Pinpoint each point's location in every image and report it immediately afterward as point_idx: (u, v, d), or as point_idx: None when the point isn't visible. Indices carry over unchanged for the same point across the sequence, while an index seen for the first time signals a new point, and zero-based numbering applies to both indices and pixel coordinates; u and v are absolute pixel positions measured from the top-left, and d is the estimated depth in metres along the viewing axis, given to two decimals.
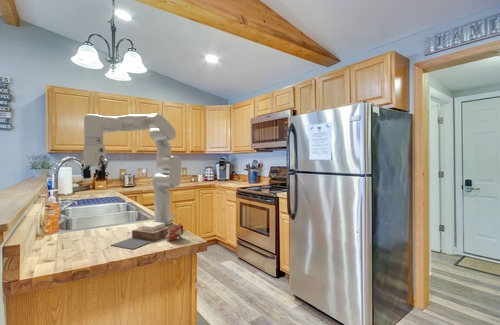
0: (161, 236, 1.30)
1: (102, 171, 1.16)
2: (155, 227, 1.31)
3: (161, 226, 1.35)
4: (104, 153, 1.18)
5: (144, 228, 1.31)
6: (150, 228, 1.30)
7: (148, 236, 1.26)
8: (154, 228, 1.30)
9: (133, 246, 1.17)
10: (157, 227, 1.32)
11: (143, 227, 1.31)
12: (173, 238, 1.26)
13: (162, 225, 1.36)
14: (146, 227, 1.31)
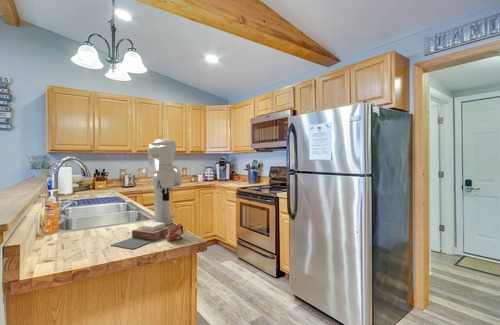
0: (161, 236, 1.30)
1: None
2: (155, 227, 1.31)
3: (161, 226, 1.35)
4: None
5: (144, 228, 1.31)
6: (150, 228, 1.30)
7: (148, 236, 1.26)
8: (154, 228, 1.30)
9: (133, 246, 1.17)
10: (157, 227, 1.32)
11: (143, 227, 1.31)
12: (173, 238, 1.26)
13: (162, 225, 1.36)
14: (146, 227, 1.31)
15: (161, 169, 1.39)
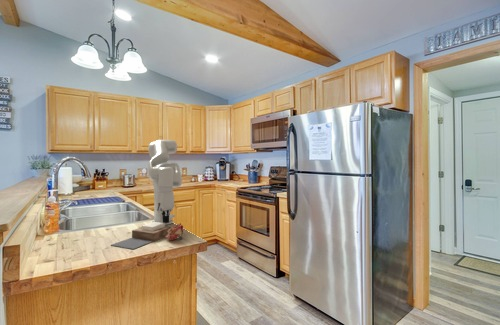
0: (161, 236, 1.30)
1: None
2: (155, 227, 1.31)
3: (161, 226, 1.35)
4: None
5: (144, 228, 1.31)
6: (150, 228, 1.30)
7: (148, 236, 1.26)
8: (154, 228, 1.30)
9: (133, 246, 1.17)
10: (157, 227, 1.32)
11: (143, 227, 1.31)
12: (173, 238, 1.26)
13: (162, 225, 1.36)
14: (146, 227, 1.31)
15: (161, 191, 1.40)
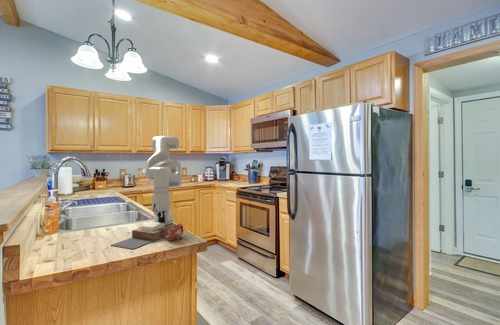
0: (161, 236, 1.30)
1: None
2: (155, 227, 1.31)
3: (161, 226, 1.35)
4: None
5: (144, 228, 1.31)
6: (150, 228, 1.29)
7: (148, 236, 1.26)
8: (154, 228, 1.30)
9: (133, 246, 1.17)
10: (157, 227, 1.32)
11: (143, 227, 1.31)
12: (173, 238, 1.26)
13: (162, 225, 1.36)
14: (146, 227, 1.30)
15: (157, 192, 1.36)
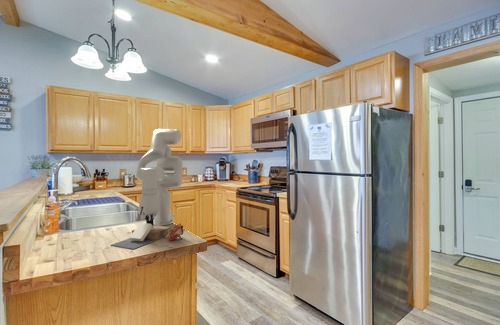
0: (161, 236, 1.30)
1: None
2: (143, 235, 1.23)
3: (149, 229, 1.27)
4: None
5: (133, 239, 1.24)
6: (139, 239, 1.22)
7: (148, 236, 1.26)
8: (143, 237, 1.23)
9: (133, 246, 1.17)
10: (145, 233, 1.25)
11: (131, 238, 1.24)
12: (173, 238, 1.26)
13: (150, 227, 1.27)
14: (134, 238, 1.23)
15: (144, 194, 1.28)
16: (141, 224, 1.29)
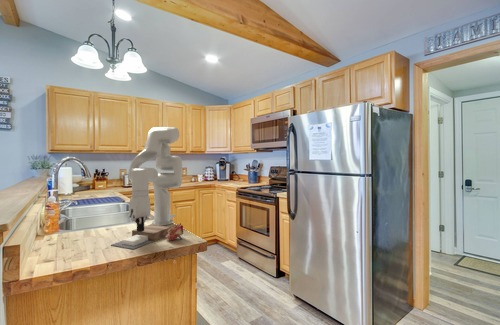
0: (161, 236, 1.30)
1: None
2: (137, 241, 1.20)
3: (144, 240, 1.24)
4: None
5: (125, 242, 1.20)
6: (131, 242, 1.18)
7: (148, 236, 1.26)
8: (136, 242, 1.19)
9: (133, 246, 1.17)
10: (139, 241, 1.21)
11: (124, 241, 1.20)
12: (173, 238, 1.26)
13: (145, 238, 1.25)
14: (127, 241, 1.19)
15: (134, 196, 1.23)
16: (137, 235, 1.27)
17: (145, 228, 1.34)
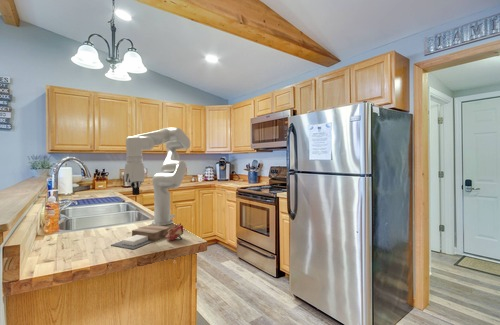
0: (161, 236, 1.30)
1: None
2: (137, 241, 1.20)
3: (144, 240, 1.24)
4: None
5: (125, 242, 1.20)
6: (131, 242, 1.18)
7: (148, 236, 1.26)
8: (136, 242, 1.19)
9: (133, 246, 1.17)
10: (139, 241, 1.21)
11: (124, 241, 1.20)
12: (173, 238, 1.26)
13: (145, 238, 1.25)
14: (127, 241, 1.19)
15: (129, 162, 1.31)
16: (137, 235, 1.27)
17: (145, 228, 1.34)
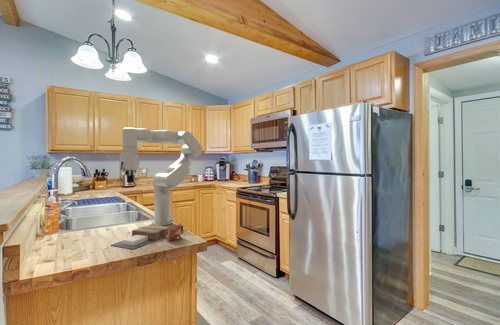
0: (161, 236, 1.30)
1: None
2: (137, 241, 1.20)
3: (144, 240, 1.24)
4: None
5: (125, 242, 1.20)
6: (131, 242, 1.18)
7: (148, 236, 1.26)
8: (136, 242, 1.19)
9: (133, 246, 1.17)
10: (139, 241, 1.21)
11: (124, 241, 1.20)
12: (173, 238, 1.26)
13: (145, 238, 1.25)
14: (127, 241, 1.19)
15: (124, 151, 1.40)
16: (137, 235, 1.27)
17: (145, 228, 1.34)
